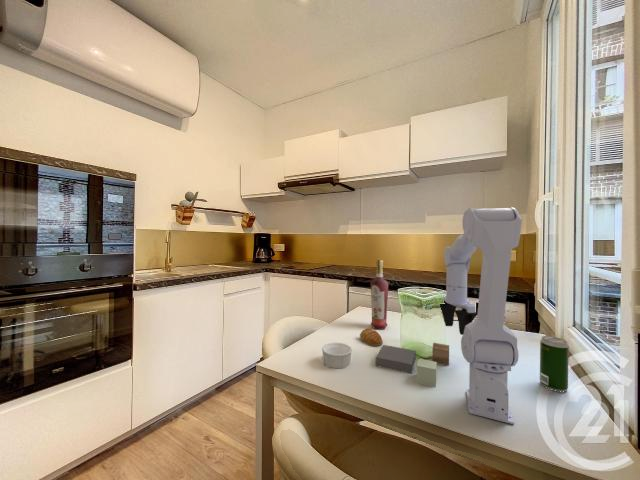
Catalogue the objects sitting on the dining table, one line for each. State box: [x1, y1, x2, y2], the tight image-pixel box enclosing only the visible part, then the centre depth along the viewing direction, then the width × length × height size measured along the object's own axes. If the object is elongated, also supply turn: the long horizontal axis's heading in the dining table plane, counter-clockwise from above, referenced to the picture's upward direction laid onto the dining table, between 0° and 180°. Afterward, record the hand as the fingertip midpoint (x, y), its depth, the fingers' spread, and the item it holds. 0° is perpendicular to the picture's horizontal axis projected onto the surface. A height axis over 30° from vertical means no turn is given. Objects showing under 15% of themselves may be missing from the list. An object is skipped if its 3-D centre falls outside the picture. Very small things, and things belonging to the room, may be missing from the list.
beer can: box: [539, 335, 570, 393], centre depth 68 cm, size 5×5×12 cm
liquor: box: [370, 259, 389, 330], centre depth 112 cm, size 7×7×28 cm
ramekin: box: [321, 342, 353, 369], centre depth 80 cm, size 9×9×4 cm
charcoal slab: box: [375, 344, 417, 374], centre depth 80 cm, size 10×10×3 cm
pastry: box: [359, 327, 384, 347], centre depth 96 cm, size 9×7×4 cm
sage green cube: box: [416, 358, 438, 388], centre depth 70 cm, size 4×4×4 cm
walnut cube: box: [431, 342, 450, 366], centre depth 82 cm, size 4×4×4 cm
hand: (456, 329), depth 83 cm, fingers open, 7 cm apart
